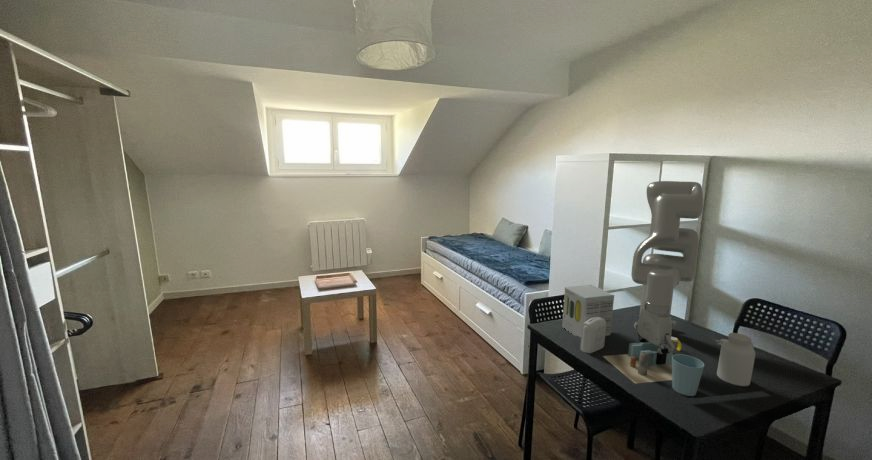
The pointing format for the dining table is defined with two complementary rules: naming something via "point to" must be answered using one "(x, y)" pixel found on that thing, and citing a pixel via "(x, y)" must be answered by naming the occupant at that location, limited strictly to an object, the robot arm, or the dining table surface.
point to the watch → (677, 342)
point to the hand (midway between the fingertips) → (651, 357)
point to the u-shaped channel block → (648, 352)
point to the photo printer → (593, 335)
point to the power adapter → (726, 340)
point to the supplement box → (586, 307)
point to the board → (633, 371)
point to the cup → (686, 374)
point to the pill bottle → (736, 360)
